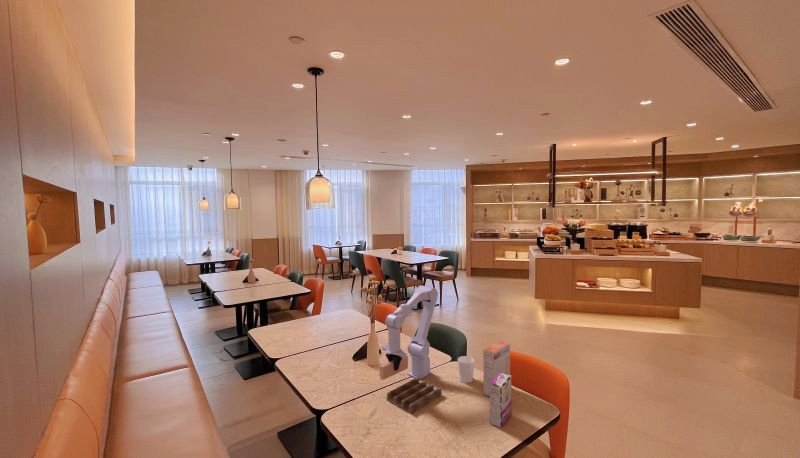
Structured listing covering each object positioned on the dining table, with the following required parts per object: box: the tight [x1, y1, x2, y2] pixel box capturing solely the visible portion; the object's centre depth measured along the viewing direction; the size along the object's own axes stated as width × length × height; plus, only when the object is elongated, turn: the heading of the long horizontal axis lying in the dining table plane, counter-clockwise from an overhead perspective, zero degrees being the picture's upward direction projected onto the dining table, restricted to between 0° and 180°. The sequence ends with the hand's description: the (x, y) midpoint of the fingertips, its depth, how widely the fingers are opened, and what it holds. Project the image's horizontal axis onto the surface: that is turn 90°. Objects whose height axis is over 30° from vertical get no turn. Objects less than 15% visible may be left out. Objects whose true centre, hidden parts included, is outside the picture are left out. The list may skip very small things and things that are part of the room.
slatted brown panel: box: [386, 377, 442, 414], centre depth 155 cm, size 20×14×3 cm
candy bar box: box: [489, 373, 512, 429], centre depth 139 cm, size 11×5×16 cm, turn 143°
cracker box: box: [482, 340, 511, 398], centre depth 160 cm, size 14×6×21 cm, turn 134°
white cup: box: [457, 355, 475, 384], centre depth 171 cm, size 8×8×10 cm
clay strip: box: [379, 355, 409, 381], centre depth 164 cm, size 16×2×6 cm, turn 134°
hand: (394, 369), depth 164 cm, fingers closed on clay strip, 2 cm apart
